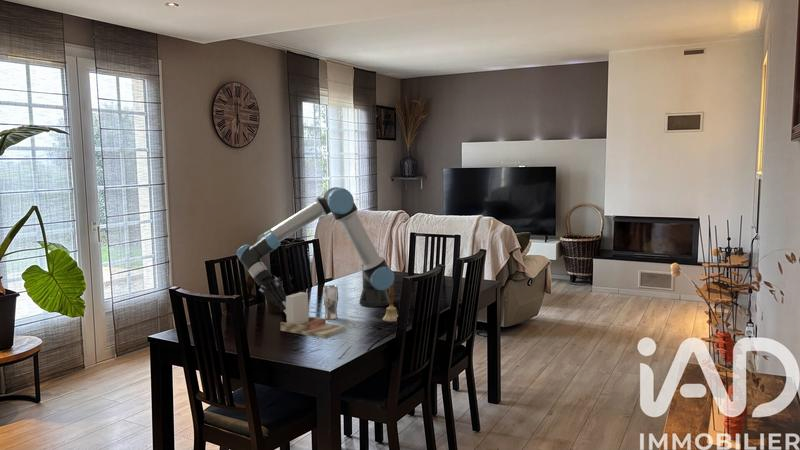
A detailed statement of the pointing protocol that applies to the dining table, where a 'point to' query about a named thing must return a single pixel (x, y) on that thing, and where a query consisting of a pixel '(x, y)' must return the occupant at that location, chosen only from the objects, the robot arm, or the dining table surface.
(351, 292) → the dining table surface
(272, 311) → the coffee mug
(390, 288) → the brush
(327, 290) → the beer glass
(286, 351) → the dining table surface
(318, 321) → the press tester
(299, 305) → the white rectangular box
